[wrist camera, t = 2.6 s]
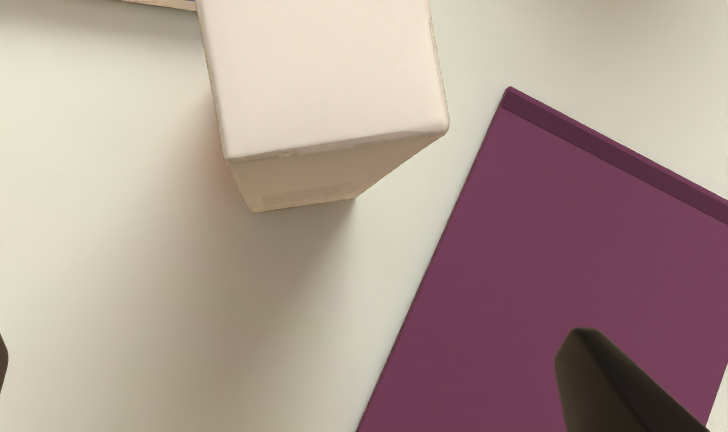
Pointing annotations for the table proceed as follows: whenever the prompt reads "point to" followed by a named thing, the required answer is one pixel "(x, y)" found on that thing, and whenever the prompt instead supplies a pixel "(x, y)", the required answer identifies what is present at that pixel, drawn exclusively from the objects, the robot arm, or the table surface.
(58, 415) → the table surface
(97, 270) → the table surface
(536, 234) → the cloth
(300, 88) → the cosmetic box
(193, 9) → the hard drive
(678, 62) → the table surface
